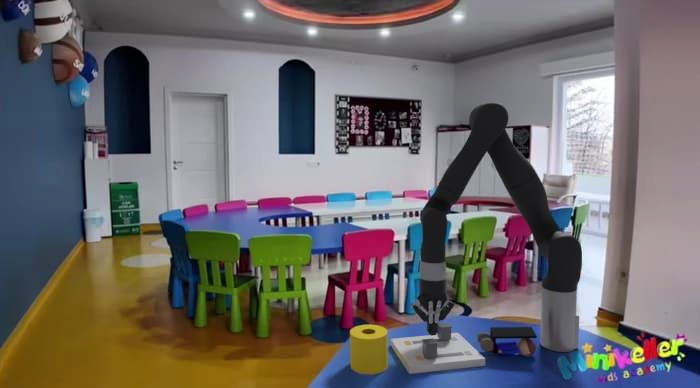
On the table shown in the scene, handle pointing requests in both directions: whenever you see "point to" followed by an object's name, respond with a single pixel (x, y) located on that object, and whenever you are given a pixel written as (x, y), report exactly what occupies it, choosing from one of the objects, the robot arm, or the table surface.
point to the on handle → (429, 348)
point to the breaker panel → (448, 354)
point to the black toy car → (522, 347)
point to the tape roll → (369, 349)
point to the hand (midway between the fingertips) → (432, 334)
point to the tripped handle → (444, 331)
